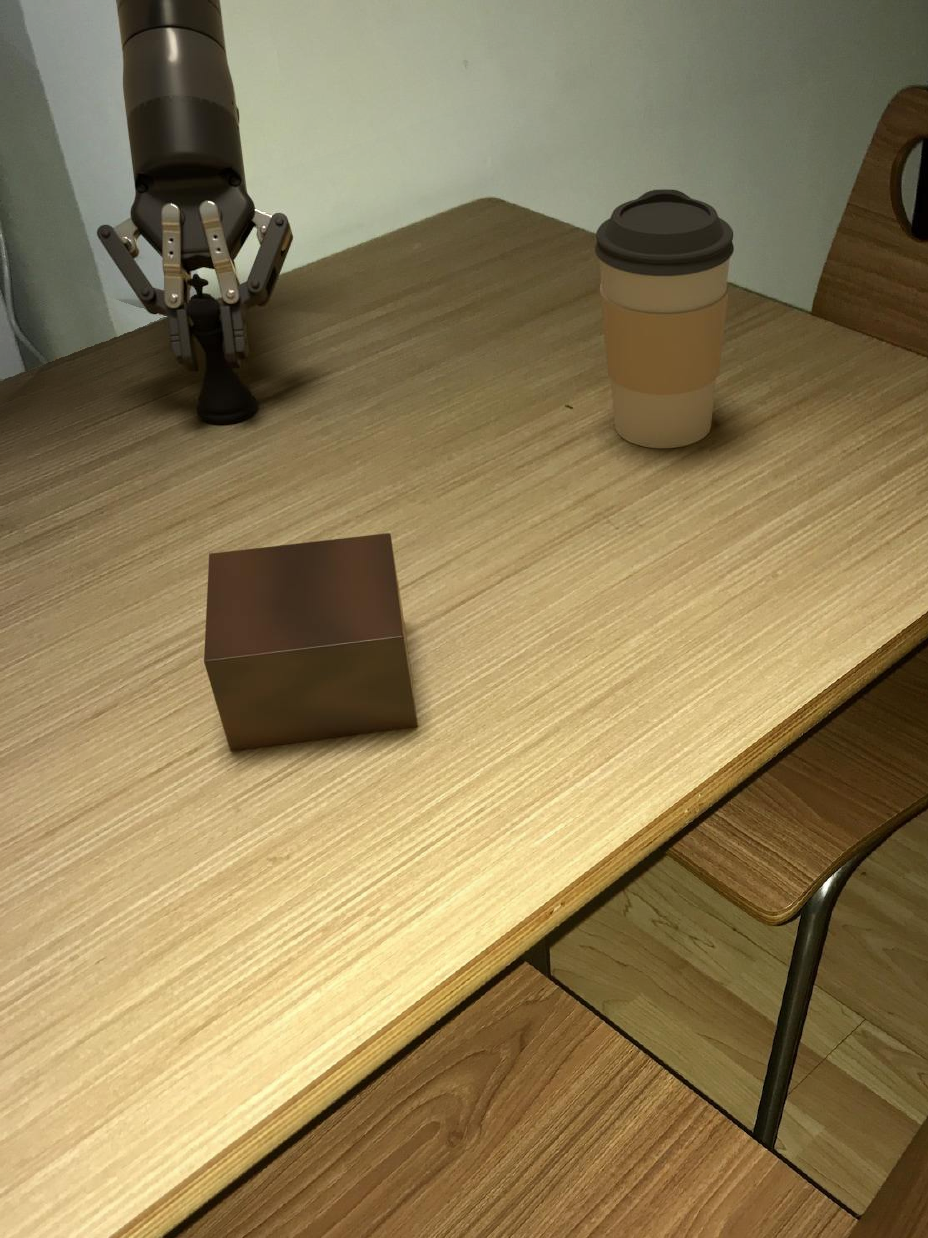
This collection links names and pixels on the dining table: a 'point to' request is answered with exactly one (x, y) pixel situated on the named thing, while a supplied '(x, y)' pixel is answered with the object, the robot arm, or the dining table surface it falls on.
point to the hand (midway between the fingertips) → (212, 365)
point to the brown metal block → (307, 642)
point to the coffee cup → (663, 314)
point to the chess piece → (216, 364)
